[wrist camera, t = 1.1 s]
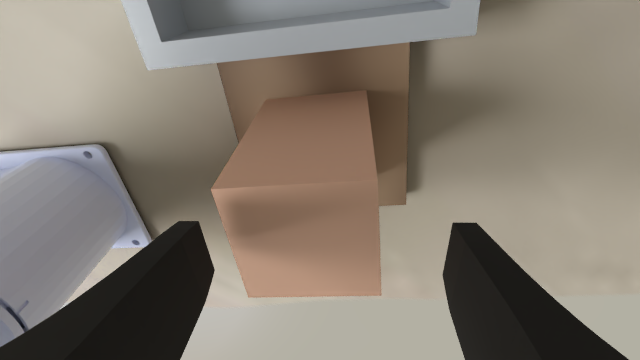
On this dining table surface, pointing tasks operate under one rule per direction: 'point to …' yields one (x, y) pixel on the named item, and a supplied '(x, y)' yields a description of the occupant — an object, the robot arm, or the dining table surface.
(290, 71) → the stud plate
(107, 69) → the dining table surface
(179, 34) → the bin
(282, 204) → the salmon brown block
